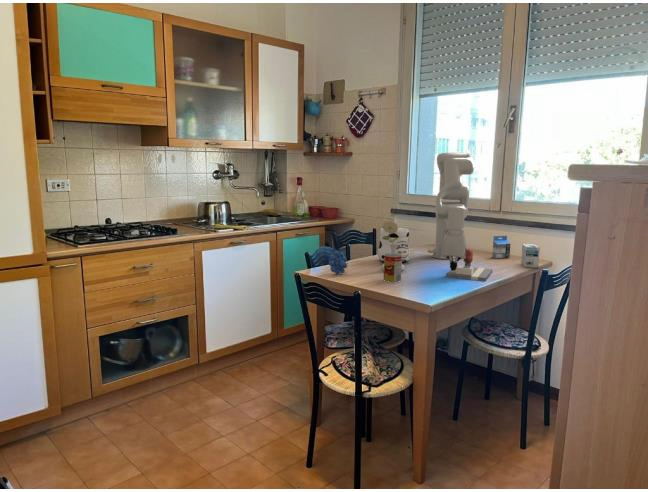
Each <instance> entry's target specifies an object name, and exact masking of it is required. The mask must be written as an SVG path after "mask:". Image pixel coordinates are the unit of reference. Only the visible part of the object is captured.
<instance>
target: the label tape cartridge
mask: <svg viewBox="0 0 648 492" xmlns="http://www.w3.org/2000/svg"><path fill="white" fill-rule="evenodd" d="M491 253H492V254H491V257H492V258H494V259H495V260H496V259H510V255H511V243H510V242H509V240H508V236H507V235H493V242H492V252H491Z"/></svg>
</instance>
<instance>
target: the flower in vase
mask: <svg viewBox="0 0 648 492" xmlns="http://www.w3.org/2000/svg"><path fill="white" fill-rule="evenodd" d="M398 227H399V226H398V224H397V223H396V222H394V221H393V220H392V221H391V220H386V221H384V222H383V223H382V225H381V228H383V229H384V231H385V232H388V233H389V234H390V233H391V234H392V233H395V232H397V231H398V230H397V229H398ZM389 238H390V236H389V237H387V236H384V237H383V238H382V239H384V240H389ZM398 238H399V237H398ZM398 238H395V239H393V240H391V239H390V240H391V242H392V241H394V240H397V239H398ZM389 245H390V247H391V253H396V249H397V246H398V245H399V243H393V242H392V243H389ZM381 268H382V270H384V263H383V264H382V265H381ZM404 270H405V265H404V264H403V263H402V265H401V272H402V271H404Z"/></svg>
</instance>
